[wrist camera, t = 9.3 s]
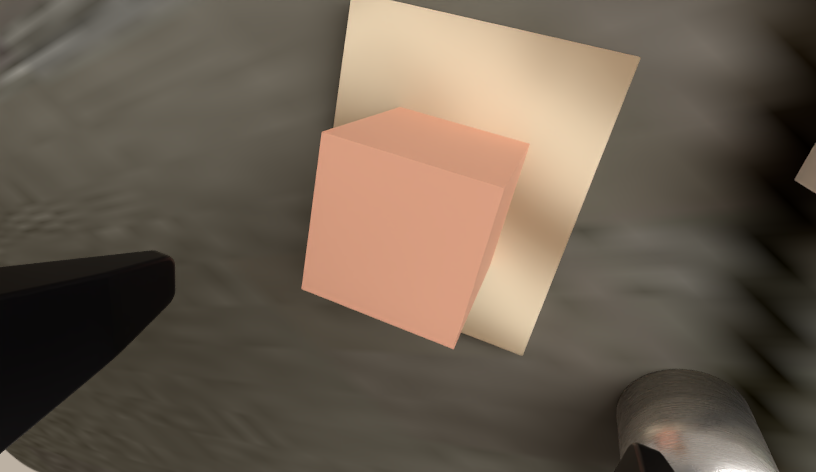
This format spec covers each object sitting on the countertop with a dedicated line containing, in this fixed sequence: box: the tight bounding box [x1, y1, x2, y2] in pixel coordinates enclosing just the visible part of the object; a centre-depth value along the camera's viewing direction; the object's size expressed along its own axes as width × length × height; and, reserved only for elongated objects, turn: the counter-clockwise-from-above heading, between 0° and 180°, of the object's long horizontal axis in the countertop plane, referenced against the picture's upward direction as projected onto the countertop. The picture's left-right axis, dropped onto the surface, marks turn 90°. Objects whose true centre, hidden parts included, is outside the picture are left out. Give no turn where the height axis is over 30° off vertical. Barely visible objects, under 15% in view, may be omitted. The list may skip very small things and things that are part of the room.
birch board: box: [333, 0, 641, 355], centre depth 19 cm, size 12×10×1 cm
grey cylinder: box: [616, 369, 779, 472], centre depth 18 cm, size 5×5×5 cm
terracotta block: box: [302, 107, 530, 349], centre depth 16 cm, size 5×5×6 cm
